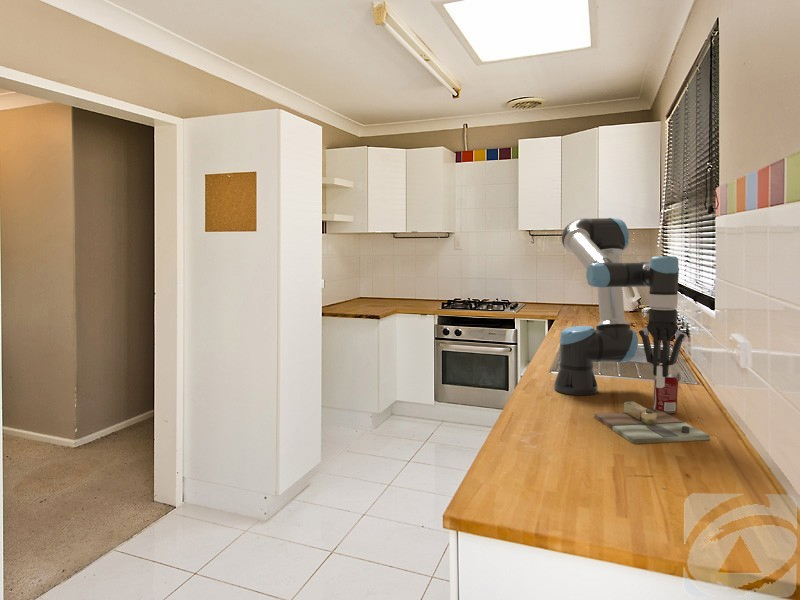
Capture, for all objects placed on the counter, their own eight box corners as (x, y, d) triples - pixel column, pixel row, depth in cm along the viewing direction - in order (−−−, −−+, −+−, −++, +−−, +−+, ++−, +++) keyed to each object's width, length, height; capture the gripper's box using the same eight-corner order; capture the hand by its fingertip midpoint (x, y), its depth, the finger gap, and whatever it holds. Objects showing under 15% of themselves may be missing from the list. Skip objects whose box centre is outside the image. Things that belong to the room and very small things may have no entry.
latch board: (594, 417, 164) (594, 409, 164) (661, 414, 166) (661, 406, 166) (633, 443, 142) (633, 433, 142) (709, 439, 145) (710, 430, 144)
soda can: (679, 415, 166) (681, 377, 165) (656, 414, 167) (657, 376, 166) (673, 408, 172) (674, 372, 171) (650, 407, 174) (652, 371, 173)
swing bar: (659, 424, 152) (659, 411, 152) (645, 425, 152) (646, 412, 152) (634, 410, 165) (634, 398, 165) (622, 411, 165) (622, 399, 165)
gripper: (690, 308, 155) (687, 388, 157) (644, 306, 164) (642, 381, 166) (682, 311, 150) (680, 393, 152) (635, 308, 159) (633, 385, 161)
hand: (660, 386), depth 159 cm, fingers closed
